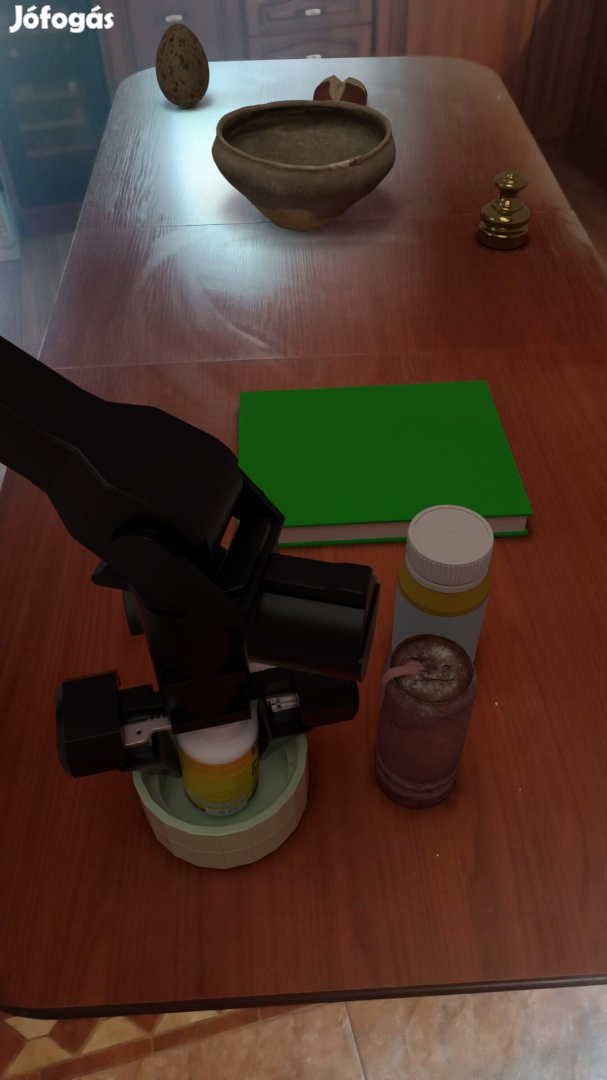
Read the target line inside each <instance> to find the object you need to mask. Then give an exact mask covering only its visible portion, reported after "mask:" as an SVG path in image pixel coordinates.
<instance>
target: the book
mask: <svg viewBox="0 0 607 1080" xmlns="http://www.w3.org/2000/svg"><path fill="white" fill-rule="evenodd" d="M238 395H239V400H238V401H239V404H238V405H239V406H238V450H237V451H238V453H237V454H238V455H237V458H238V461H239V463H238V466H239V467H240V468H241V469H242V470H243V471H244V472H245V473H246V475H247V476H248V477H249V478H250V479H251V480H252V481H253V482H254V483H255V484H256V485H257V487H259V488H260V489H261V490H262V491H264V494H265V495H266V496H267V497H268V498H269V500H270V501H271V502H272V503H273V504H274V505H275V506H276V507H277V508H278V509H279V510H280V512H281V513H282V514H283V515H284V516H285V518H286V520H285V523H284V526H283V528H282V531H281V534H280V537H279V549H283V548H284V549H285V548H304V547H323V546H327V547H328V546H342V545H343V546H344V545H345V546H347V545H364V544H384V543H403V542H404V543H405V542H406V543H407V534H408V528H409V525H410V523H411V521H412V520H413V518H414V517H415V516H416V515H417V514H418V513H420V512H421V511H423V510H425V509H427V508H430V507H433V506H438V505H456V506H461V507H464V508H467V509H470V510H472V511H474V512H476V513H478V514H479V515H481V516H482V517H483V518H484V519H485V520H486V521H487V522H488V524H489V525H490V527H491V529H492V532H493V537H494V538H503V537H504V538H506V537H525V536H528V535H529V531H528V529H527V525H526V524H527V520H528V517H533V516H534V511H533V509H532V506H531V503H530V500H529V497H528V495H527V492H526V489H525V486H524V483H523V480H522V478H521V475H520V473H519V470H518V466H517V464H516V461H515V458H514V455H513V453H512V450H511V447H510V444H509V441H508V439H507V435H506V432H505V430H504V426H503V424H502V421H501V418H500V416H499V413H498V410H497V408H496V405H495V402H494V399H493V396H492V393H491V390H490V387H489V385H488V382H487V380H486V379H485V380H468V381H467V380H465V381H463V380H462V381H445V382H443V381H442V382H422V383H421V382H420V383H400V384H379V385H360V386H358V385H357V386H356V385H355V386H338V387H317V388H314V387H313V388H297V389H293V388H292V389H274V390H271V389H270V390H252V391H251V390H250V391H239V394H238ZM239 521H240V520H238V519H236V522H237V523H236V527H237V526H238V523H239Z"/></svg>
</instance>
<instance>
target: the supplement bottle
mask: <svg viewBox="0 0 607 1080" xmlns="http://www.w3.org/2000/svg"><path fill="white" fill-rule="evenodd" d="M251 715H252V719H249V720H244V721H240V722H235V723H230V724H225V725H220V726H216V727H211V728H206V729H201V730H196V731H192V732H187V733H182V734H177V735H176V737H177V744H178V751H179V759H180V766H181V773H182V781H183V787H184V792H185V795H186V797H187V799H188V800H189V802H190V803H191V804H192V805H193V806H194V807H195V808H196V809H197V810H199V811H200V812H202V813H204V814H207V815H211V816H227V815H231V814H234V813H236V812H238V811H240V810H242V809H243V808H244V807H246V806H247V805H248V804H249V803H250V802H251V800H252V799H253V797H254V796H255V793H256V791H257V788H258V781H259V726H258V718H257V715H256V712H255V710H254V708H253V707H252V711H251Z"/></svg>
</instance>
